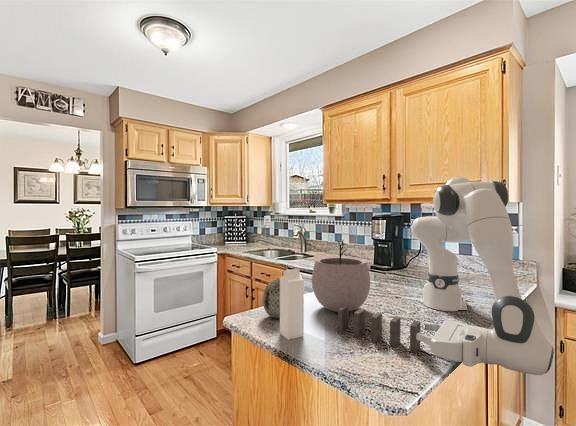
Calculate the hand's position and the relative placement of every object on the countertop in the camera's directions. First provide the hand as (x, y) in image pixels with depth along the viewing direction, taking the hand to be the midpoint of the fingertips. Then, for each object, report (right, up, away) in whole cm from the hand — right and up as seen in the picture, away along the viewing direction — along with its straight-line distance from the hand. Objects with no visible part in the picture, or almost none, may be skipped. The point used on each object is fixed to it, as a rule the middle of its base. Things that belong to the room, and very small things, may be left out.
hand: (421, 330), depth 93 cm
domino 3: (-11, -6, +8) cm, 15 cm away
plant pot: (-18, -6, +38) cm, 42 cm away
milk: (-38, -6, +12) cm, 41 cm away
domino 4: (-6, -6, +5) cm, 10 cm away
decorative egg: (-44, -6, +28) cm, 52 cm away
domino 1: (-20, -6, +16) cm, 26 cm away
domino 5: (-1, -6, +1) cm, 6 cm away
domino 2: (-16, -6, +12) cm, 21 cm away
